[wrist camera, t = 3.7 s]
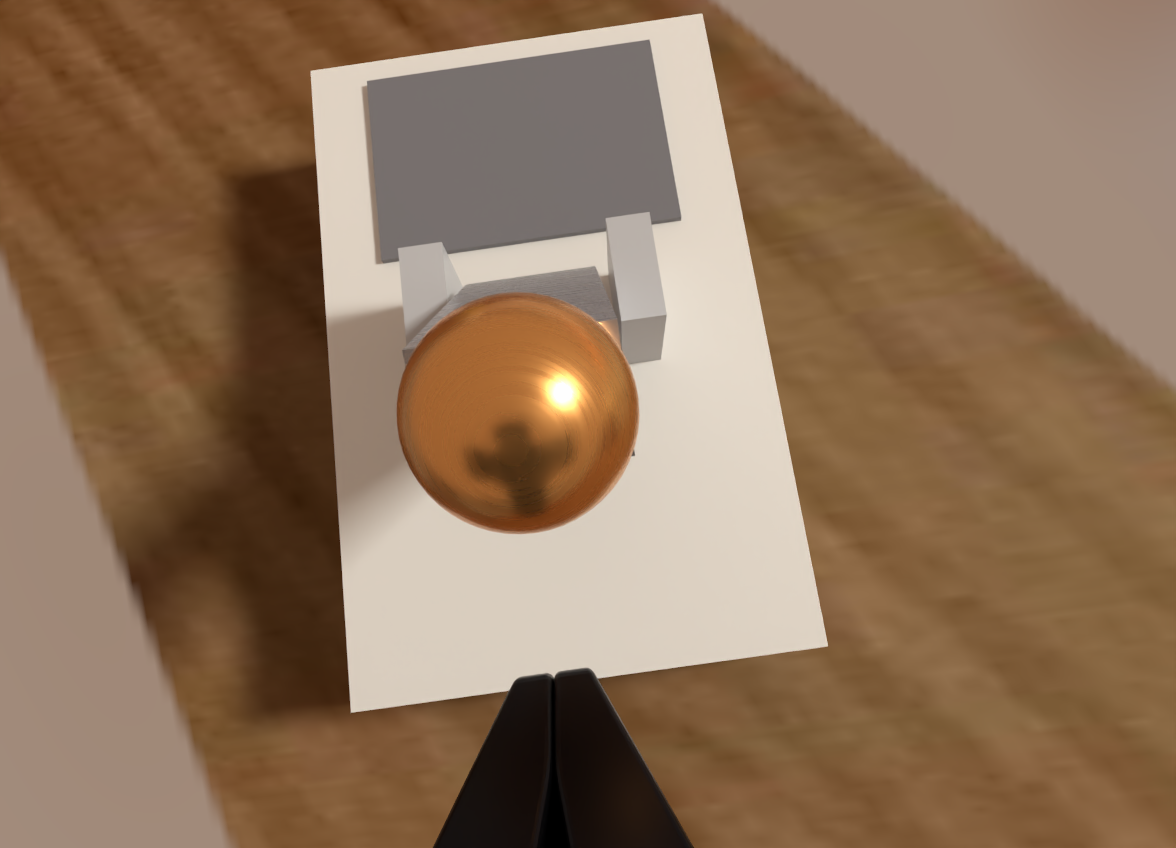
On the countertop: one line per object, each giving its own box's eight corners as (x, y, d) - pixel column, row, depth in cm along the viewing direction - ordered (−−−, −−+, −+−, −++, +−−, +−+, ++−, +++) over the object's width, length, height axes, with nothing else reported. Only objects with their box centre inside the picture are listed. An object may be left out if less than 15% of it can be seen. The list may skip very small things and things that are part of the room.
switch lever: (611, 361, 17) (665, 556, 8) (486, 379, 17) (402, 593, 8) (594, 233, 17) (633, 291, 7) (464, 252, 17) (344, 332, 7)
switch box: (791, 643, 19) (865, 649, 13) (399, 698, 19) (300, 727, 13) (690, 107, 22) (713, -77, 17) (358, 155, 22) (264, -11, 17)
